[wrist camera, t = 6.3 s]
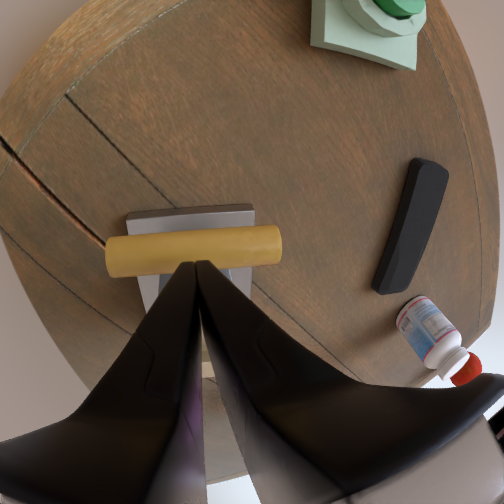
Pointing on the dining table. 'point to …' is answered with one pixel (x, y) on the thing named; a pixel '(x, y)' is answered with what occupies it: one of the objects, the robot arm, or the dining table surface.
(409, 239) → the remote control
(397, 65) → the push button base
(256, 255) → the latch lever
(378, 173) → the dining table surface
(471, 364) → the apple
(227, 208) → the latch bracket
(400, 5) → the button
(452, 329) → the pill bottle
